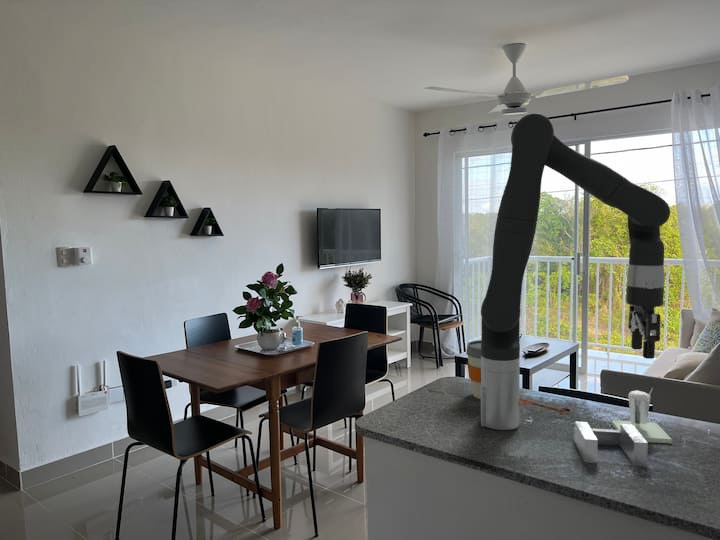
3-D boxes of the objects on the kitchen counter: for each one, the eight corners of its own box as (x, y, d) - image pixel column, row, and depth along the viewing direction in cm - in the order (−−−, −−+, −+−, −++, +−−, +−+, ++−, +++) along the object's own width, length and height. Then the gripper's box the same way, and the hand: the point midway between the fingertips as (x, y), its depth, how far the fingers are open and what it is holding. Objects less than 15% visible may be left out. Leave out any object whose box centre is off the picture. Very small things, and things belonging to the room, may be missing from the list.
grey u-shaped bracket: (584, 462, 110) (584, 439, 109) (573, 440, 121) (573, 418, 120) (647, 466, 107) (647, 442, 107) (630, 443, 118) (630, 421, 118)
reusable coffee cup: (498, 405, 144) (498, 352, 143) (458, 396, 152) (458, 345, 151) (517, 393, 154) (518, 343, 152) (479, 385, 162) (479, 338, 161)
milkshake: (656, 432, 121) (658, 390, 121) (633, 433, 121) (634, 391, 121) (646, 425, 126) (647, 384, 125) (623, 425, 126) (624, 385, 125)
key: (512, 405, 146) (563, 419, 135) (512, 402, 146) (563, 416, 135) (523, 399, 150) (574, 412, 139) (523, 395, 150) (574, 409, 139)
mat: (623, 440, 120) (623, 436, 120) (611, 424, 130) (611, 420, 130) (671, 443, 118) (671, 439, 118) (655, 426, 128) (655, 422, 128)
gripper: (618, 280, 128) (616, 345, 130) (637, 287, 115) (634, 360, 116) (652, 281, 127) (649, 347, 128) (675, 288, 113) (671, 362, 114)
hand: (642, 353), depth 122 cm, fingers open, 8 cm apart
